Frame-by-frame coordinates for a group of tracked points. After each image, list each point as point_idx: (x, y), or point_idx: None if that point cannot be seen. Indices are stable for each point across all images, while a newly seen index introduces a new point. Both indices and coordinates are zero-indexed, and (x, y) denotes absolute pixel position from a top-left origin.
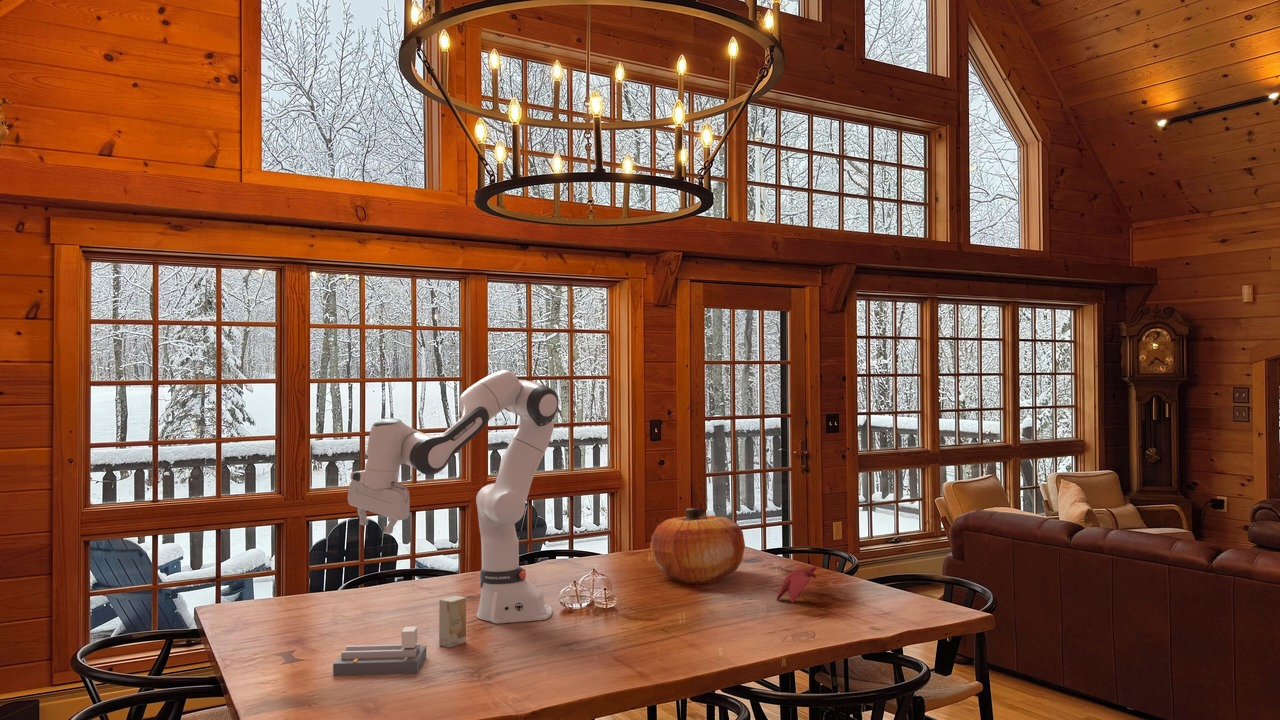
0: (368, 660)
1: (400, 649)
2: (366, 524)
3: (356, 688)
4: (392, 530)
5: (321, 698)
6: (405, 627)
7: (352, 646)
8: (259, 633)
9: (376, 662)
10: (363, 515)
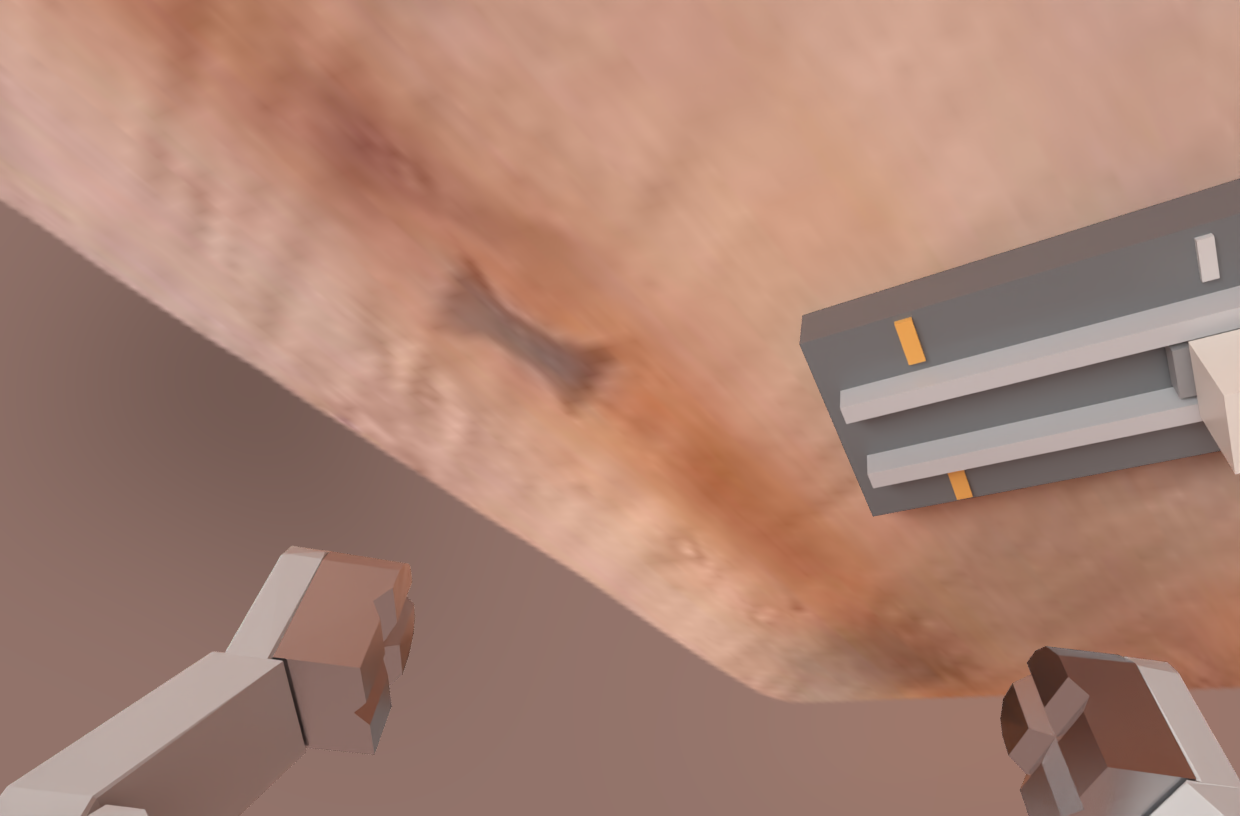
0: (1018, 463)
1: (1180, 397)
2: (408, 587)
3: (1047, 562)
4: (1187, 707)
5: (963, 636)
6: (1230, 403)
7: (874, 414)
8: (108, 104)
9: (1074, 477)
10: (235, 758)
